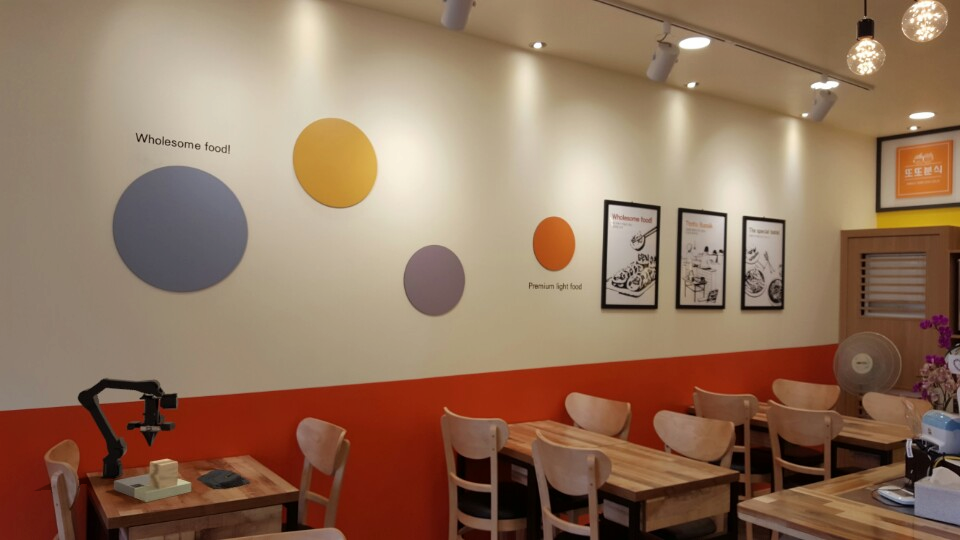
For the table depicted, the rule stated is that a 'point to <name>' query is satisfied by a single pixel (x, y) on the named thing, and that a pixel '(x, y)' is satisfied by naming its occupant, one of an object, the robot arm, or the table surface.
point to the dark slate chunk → (222, 479)
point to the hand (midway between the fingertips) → (150, 446)
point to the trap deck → (149, 488)
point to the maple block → (163, 473)
